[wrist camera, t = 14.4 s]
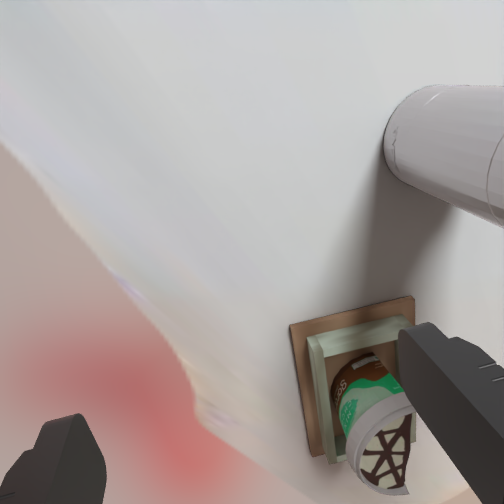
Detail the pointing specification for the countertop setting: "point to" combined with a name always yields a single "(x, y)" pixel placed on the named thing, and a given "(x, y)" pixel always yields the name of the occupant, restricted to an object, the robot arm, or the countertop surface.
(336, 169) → the countertop surface
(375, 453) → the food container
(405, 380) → the robot arm
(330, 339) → the holder
